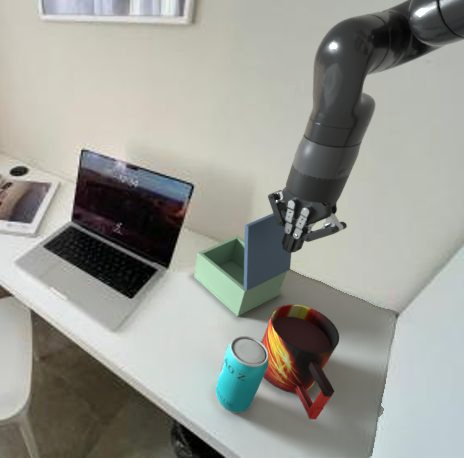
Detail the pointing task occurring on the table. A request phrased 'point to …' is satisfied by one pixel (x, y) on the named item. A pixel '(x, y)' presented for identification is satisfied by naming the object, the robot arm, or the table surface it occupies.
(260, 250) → the box lid
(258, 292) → the storage box
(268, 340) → the mug
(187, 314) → the table surface
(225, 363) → the beverage can
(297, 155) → the robot arm
